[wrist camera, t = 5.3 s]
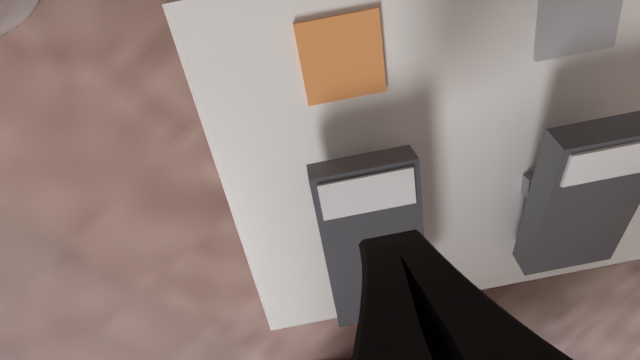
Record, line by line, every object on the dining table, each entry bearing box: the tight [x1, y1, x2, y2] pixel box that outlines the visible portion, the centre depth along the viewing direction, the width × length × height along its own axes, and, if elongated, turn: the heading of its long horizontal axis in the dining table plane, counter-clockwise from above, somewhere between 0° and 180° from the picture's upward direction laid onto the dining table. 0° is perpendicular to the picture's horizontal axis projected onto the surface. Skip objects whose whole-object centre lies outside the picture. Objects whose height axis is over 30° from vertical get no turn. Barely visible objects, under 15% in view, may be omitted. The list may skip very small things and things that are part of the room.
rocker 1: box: [306, 145, 424, 327], centre depth 14 cm, size 6×3×1 cm, turn 10°
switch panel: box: [162, 0, 640, 330], centre depth 15 cm, size 13×23×2 cm, turn 100°
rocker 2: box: [512, 111, 640, 276], centre depth 14 cm, size 6×3×1 cm, turn 10°
